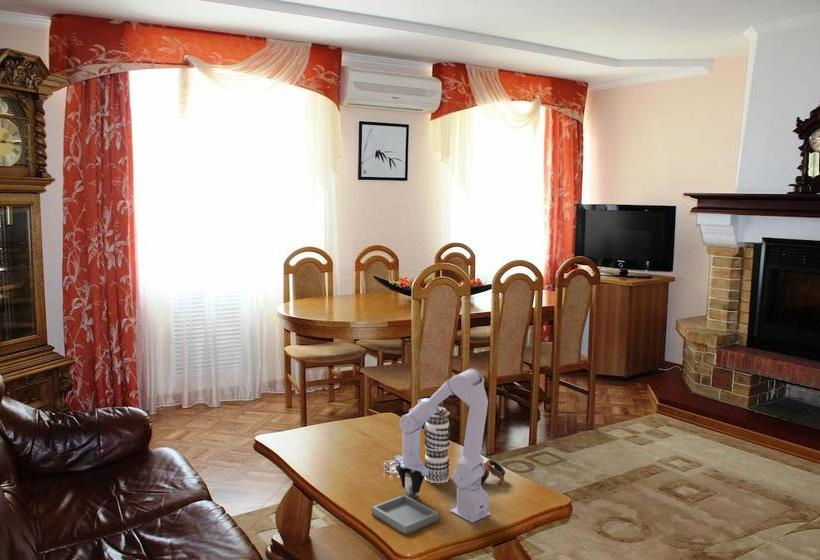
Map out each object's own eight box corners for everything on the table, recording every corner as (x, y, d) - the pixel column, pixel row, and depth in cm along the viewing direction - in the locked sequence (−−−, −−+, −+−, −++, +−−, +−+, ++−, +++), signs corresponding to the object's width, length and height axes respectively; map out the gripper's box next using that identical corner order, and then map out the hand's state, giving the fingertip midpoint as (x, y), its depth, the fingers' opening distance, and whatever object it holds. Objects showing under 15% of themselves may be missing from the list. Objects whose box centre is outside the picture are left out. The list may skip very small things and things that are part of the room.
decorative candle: (452, 474, 234) (453, 405, 231) (446, 486, 225) (447, 413, 222) (427, 471, 236) (427, 402, 233) (420, 482, 228) (420, 411, 224)
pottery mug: (478, 475, 235) (491, 456, 234) (499, 493, 231) (512, 474, 229) (463, 478, 225) (476, 458, 224) (485, 498, 220) (498, 477, 219)
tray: (438, 520, 202) (438, 512, 201) (405, 535, 193) (405, 526, 193) (404, 501, 214) (404, 494, 213) (371, 514, 205) (371, 506, 205)
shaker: (420, 495, 218) (420, 472, 217) (410, 499, 215) (410, 475, 214) (411, 491, 221) (411, 468, 220) (402, 495, 218) (402, 471, 217)
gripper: (387, 445, 219) (387, 485, 221) (416, 459, 208) (416, 501, 210) (404, 440, 223) (403, 479, 225) (433, 453, 213) (433, 494, 214)
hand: (411, 489), depth 218 cm, fingers open, 5 cm apart
